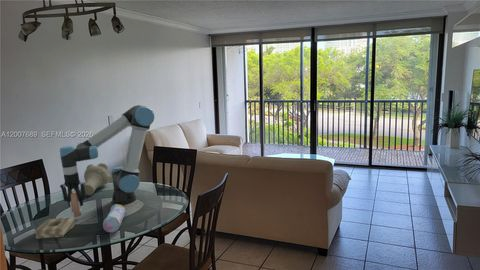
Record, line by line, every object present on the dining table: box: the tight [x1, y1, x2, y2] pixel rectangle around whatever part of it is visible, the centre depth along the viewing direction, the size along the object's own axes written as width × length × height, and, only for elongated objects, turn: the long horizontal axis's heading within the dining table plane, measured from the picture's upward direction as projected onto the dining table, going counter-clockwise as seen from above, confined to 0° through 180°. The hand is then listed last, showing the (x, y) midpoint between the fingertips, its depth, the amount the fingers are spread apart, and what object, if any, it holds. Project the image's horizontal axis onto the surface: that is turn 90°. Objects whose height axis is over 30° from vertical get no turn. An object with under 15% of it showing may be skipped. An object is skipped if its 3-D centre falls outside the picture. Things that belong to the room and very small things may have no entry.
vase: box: [83, 162, 112, 196], centre depth 248 cm, size 22×22×28 cm
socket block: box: [34, 217, 76, 239], centre depth 185 cm, size 14×14×4 cm
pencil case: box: [102, 204, 126, 234], centre depth 189 cm, size 21×9×10 cm, turn 10°
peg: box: [70, 191, 82, 218], centre depth 199 cm, size 4×4×14 cm
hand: (77, 211), depth 200 cm, fingers closed on peg, 4 cm apart
